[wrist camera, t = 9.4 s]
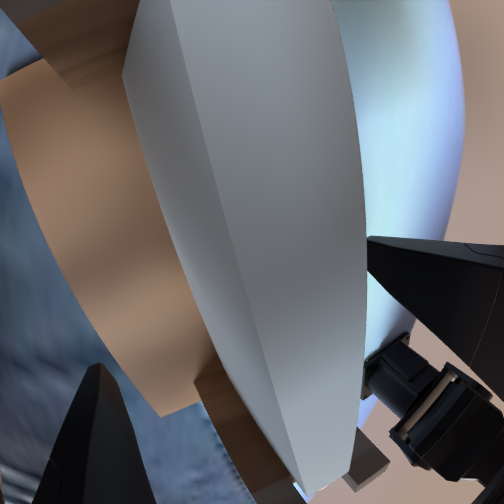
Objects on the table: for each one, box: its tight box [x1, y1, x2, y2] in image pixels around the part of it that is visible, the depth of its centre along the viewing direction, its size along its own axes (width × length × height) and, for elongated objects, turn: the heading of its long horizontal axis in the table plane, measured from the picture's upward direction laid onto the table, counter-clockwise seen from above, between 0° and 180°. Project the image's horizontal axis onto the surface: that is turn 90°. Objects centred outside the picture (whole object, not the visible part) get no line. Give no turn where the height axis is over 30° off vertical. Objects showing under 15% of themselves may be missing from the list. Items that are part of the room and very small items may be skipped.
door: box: [122, 0, 367, 497], centre depth 9 cm, size 19×2×8 cm, turn 14°
